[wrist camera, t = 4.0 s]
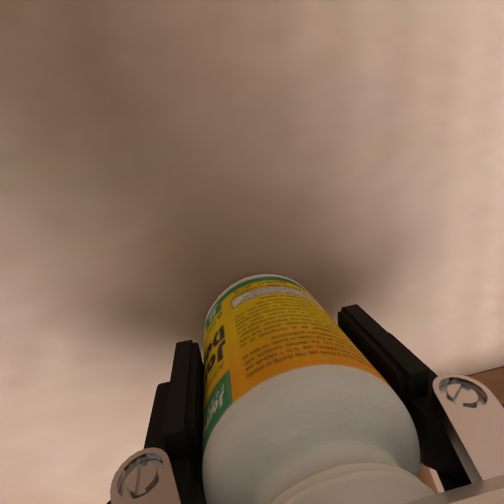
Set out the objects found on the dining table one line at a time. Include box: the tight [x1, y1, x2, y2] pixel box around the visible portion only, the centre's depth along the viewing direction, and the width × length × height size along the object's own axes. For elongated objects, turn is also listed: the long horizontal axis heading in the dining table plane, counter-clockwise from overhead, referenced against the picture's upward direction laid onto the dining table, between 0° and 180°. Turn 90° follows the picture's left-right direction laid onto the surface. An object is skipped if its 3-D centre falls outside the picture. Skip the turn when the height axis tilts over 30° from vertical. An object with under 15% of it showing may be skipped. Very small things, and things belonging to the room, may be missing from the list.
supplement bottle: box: [202, 274, 436, 504], centre depth 9 cm, size 5×5×10 cm
